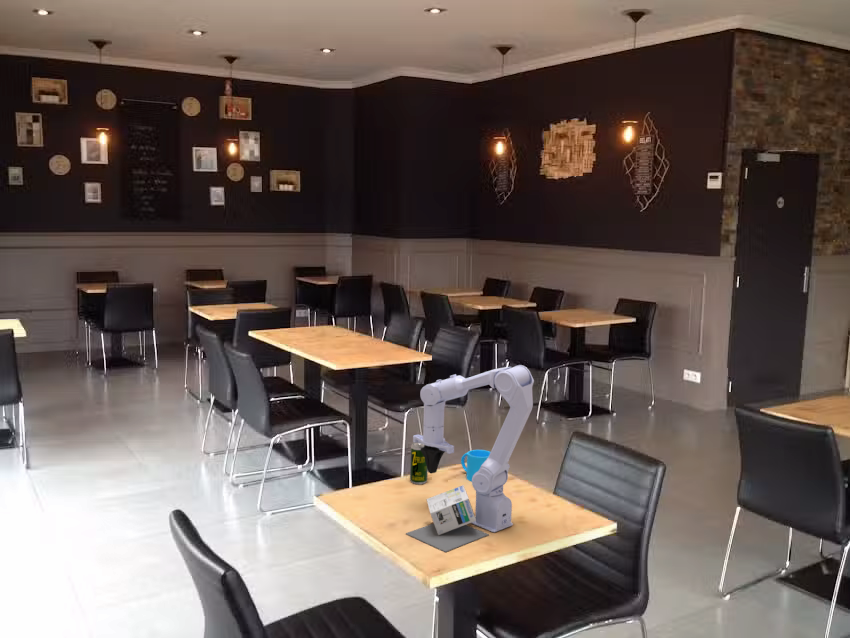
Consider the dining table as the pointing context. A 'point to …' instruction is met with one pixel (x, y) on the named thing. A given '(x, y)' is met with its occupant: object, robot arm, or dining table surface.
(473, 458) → the mug
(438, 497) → the light bulb box
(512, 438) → the robot arm
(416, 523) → the dining table surface
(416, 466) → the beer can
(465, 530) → the charcoal rubber mat
